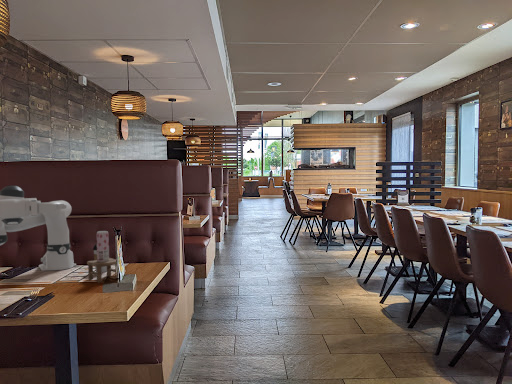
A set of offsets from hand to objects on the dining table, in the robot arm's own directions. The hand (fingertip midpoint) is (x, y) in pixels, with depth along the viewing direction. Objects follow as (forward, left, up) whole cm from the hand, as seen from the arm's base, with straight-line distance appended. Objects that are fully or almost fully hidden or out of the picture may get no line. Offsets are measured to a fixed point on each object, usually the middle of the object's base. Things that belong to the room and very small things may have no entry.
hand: (65, 206), depth 193 cm
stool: (+6, +16, -38) cm, 41 cm away
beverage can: (+6, +16, -29) cm, 33 cm away
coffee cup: (-12, +23, -38) cm, 46 cm away
